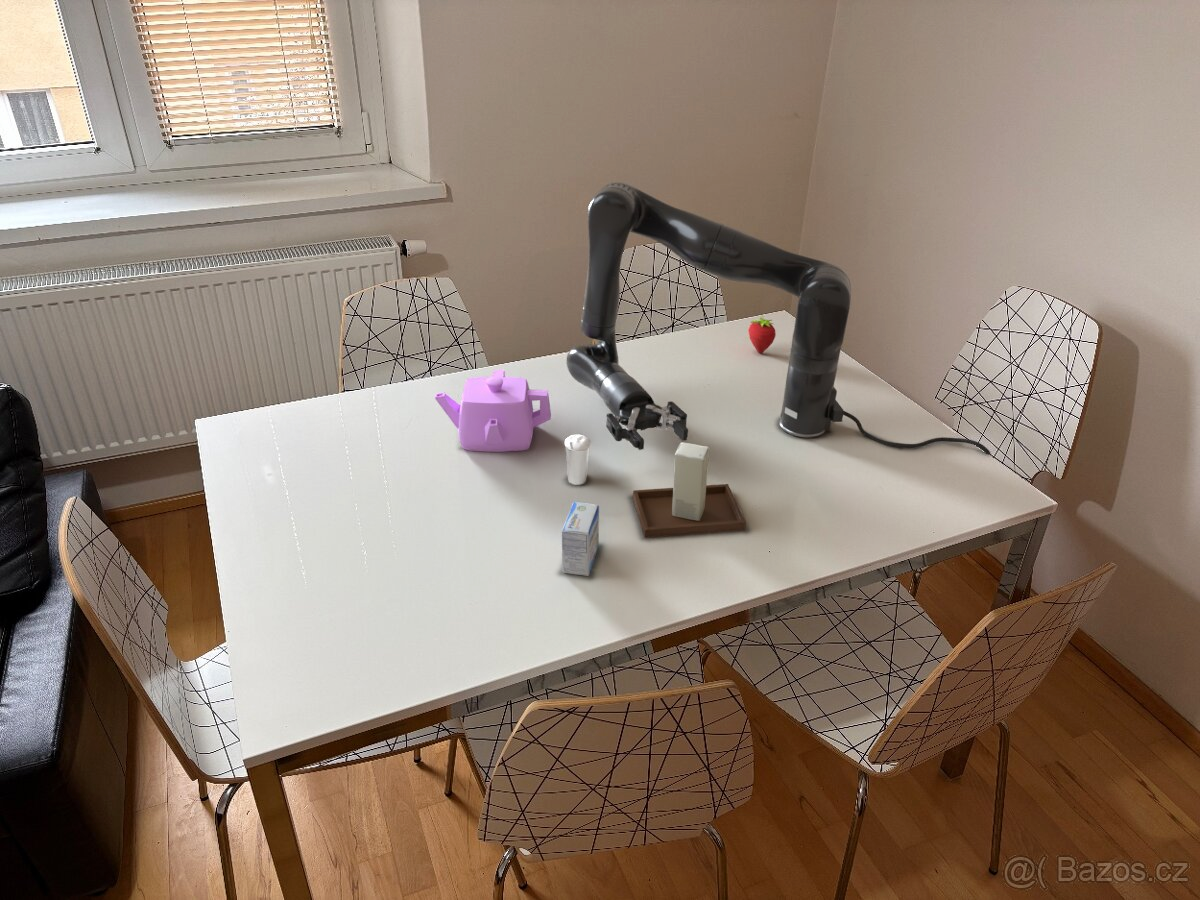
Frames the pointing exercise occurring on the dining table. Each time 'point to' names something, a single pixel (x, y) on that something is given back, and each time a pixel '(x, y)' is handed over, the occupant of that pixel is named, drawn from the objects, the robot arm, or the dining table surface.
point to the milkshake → (577, 458)
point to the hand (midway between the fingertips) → (664, 440)
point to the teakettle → (496, 413)
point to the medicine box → (580, 538)
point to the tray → (661, 522)
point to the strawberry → (761, 334)
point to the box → (690, 481)
